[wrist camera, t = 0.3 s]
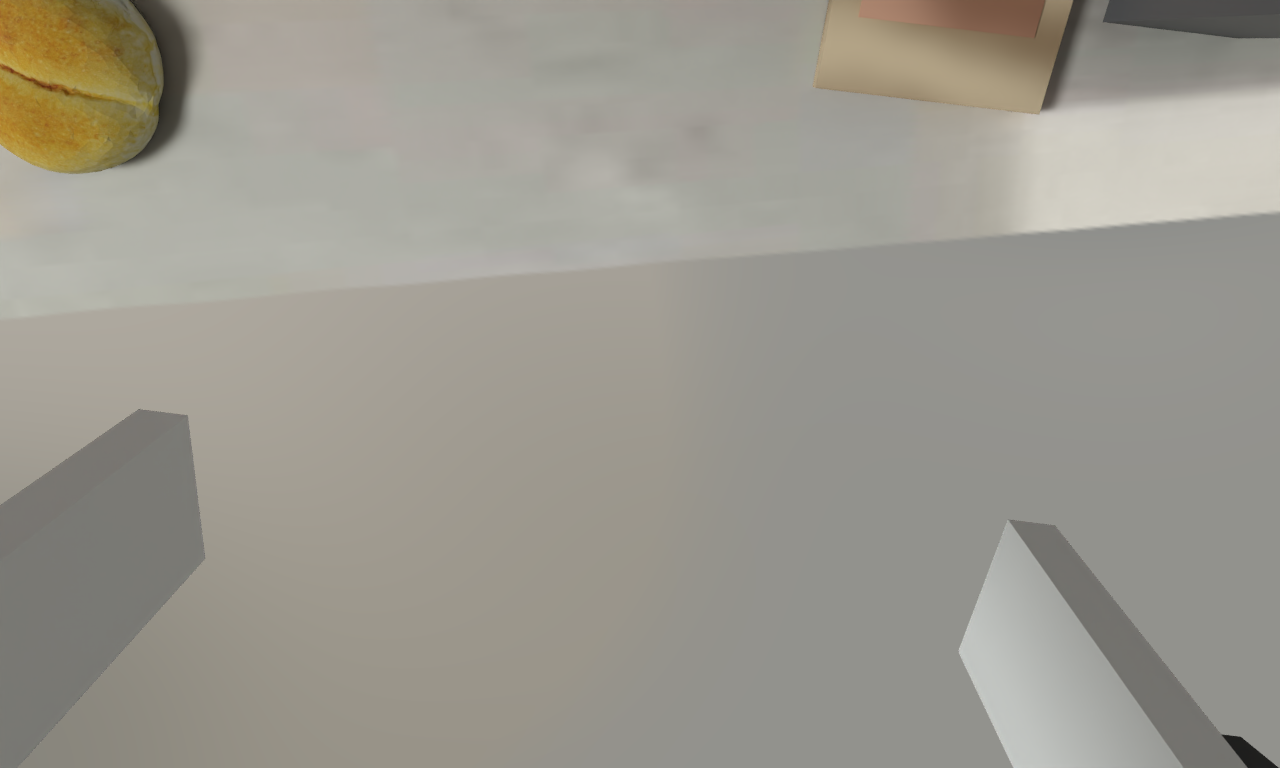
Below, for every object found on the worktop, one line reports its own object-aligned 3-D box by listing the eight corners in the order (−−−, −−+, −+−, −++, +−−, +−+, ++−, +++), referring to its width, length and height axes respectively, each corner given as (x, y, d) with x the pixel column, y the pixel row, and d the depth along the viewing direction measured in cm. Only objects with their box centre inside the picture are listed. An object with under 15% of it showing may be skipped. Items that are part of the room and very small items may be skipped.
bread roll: (-19, 122, 38) (-93, 130, 34) (9, -68, 34) (-69, -81, 31) (149, 201, 39) (95, 218, 35) (192, 26, 36) (137, 24, 32)
